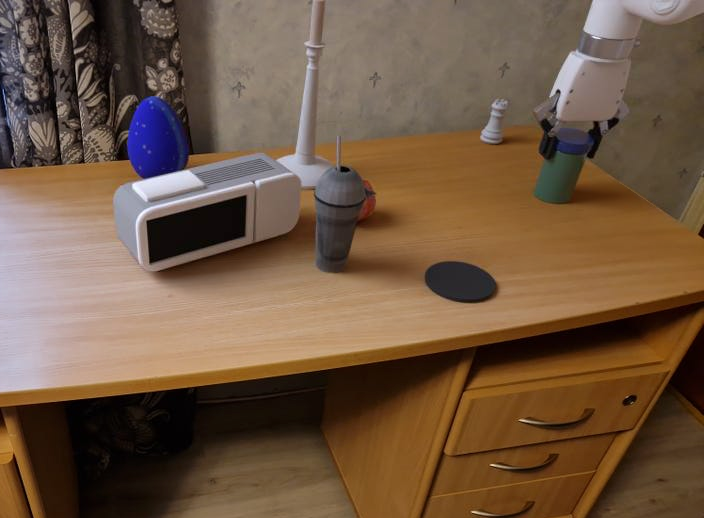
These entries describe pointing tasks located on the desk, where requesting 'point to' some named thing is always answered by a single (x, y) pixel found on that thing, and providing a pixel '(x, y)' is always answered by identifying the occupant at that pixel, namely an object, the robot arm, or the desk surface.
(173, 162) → the ornament
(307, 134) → the candlestick
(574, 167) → the jar
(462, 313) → the desk surface
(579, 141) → the lid
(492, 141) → the rook chess piece
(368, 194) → the pomegranate
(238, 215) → the alarm clock
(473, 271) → the coaster
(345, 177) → the beverage cup
